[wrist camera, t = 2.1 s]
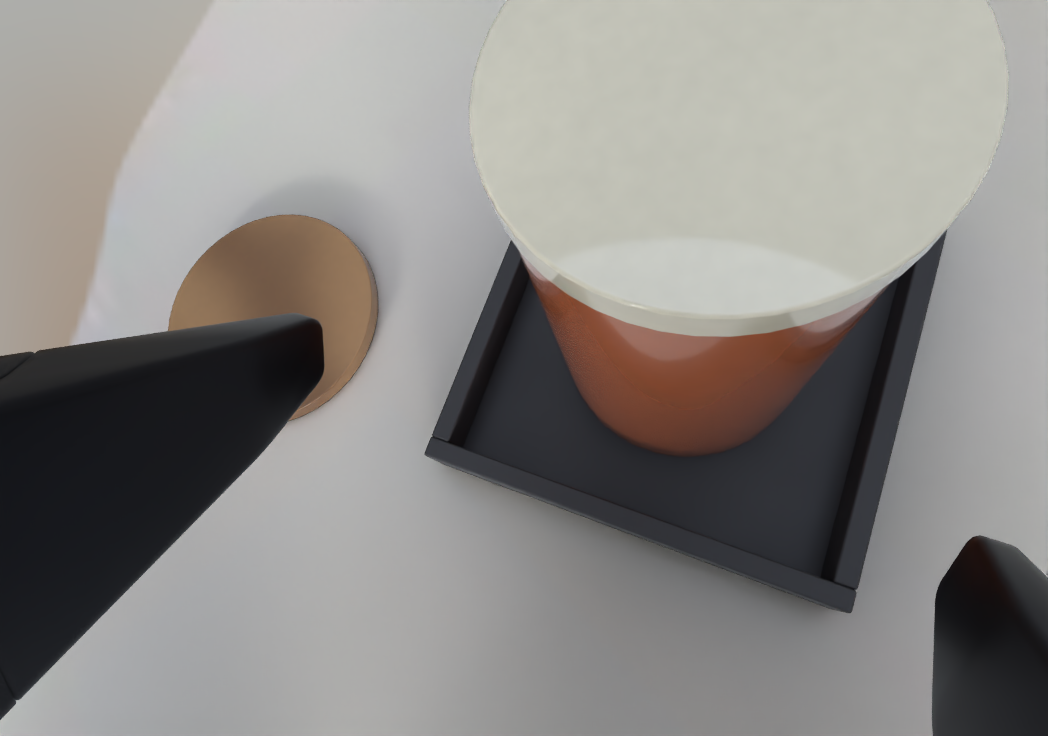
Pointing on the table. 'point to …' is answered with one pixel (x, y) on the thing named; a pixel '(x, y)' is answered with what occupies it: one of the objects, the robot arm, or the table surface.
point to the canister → (726, 185)
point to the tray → (699, 481)
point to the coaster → (287, 289)
